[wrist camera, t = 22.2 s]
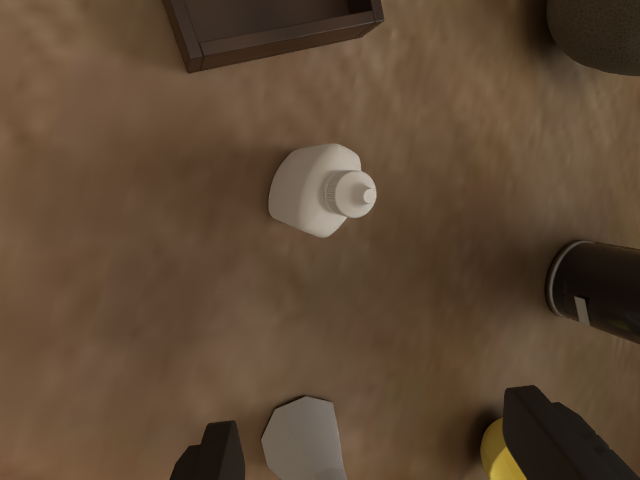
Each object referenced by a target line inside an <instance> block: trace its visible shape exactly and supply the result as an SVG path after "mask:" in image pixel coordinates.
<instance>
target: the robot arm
mask: <svg viewBox="0 0 640 480" xmlns="http://www.w3.org/2000/svg"><path fill="white" fill-rule="evenodd" d="M546 295H547V301H548V304H549V306H550V308H551V309H552V311H553V312H554V313H555V314H557V315H559V316H562V317H564V318H569V319H572V320H575V321H578V322H580V323H583V324H586V325H589V326H591V327H594V328H596V329H599V330H602V331H604V332H607V333H610V334H613V335H615V336H618V337H621V338H623V339H626V340H629V341H632V342H634V343H637V344H640V249H635V248H629V247H623V246H617V245H610V244H604V243H598V242H596V243H593V242H590V241H584V240H578V241H574V242H572V243H570V244H568V245H567V246H566V247H565V248H563V249H562V251H561V252H560V253H559V254H558V255H557V257H556V258H555V260H554V262H553V264H552V266H551V268H550V271H549V274H548V278H547V285H546ZM502 432H503V437H504V441H505V443H506V446H507V448H508V450H509V452H510V454H511V455H512V457H513V459H514V460H515V462H516V463H517V465H518V466H519V468H520V470H521V471H522V473H523V474H524V476H525V477H526V479H527V480H640V478H639V477H638V476H637V475H636V474H635V473H634V472H633V471H632V470H631V469H630V468H629V467H628V466H627V464H626V463H625V462H624V461H623V460H622V459H621V458H620V457H619V456H618V455H617V454H616V453H615V452H614V451H613V450H610V449H609V446H608V445H607V444H606V443H605V442H604V440H603V439H602V438H601V437H600V436H599V435H596V433H595V431H594V430H593V429H592V428H591V427H590V426H589V425H588V424H587V423H586V422H585V421H584V420H583V419H582V417H581V416H580V415H578V414H577V413H575V412H574V411H572V410H570V409H569V408H567V407H566V406H564V405H563V404H561V403H559V402H555V403H551V402H550V401H549V399H548V398H547V397H546V396H545V395H544V394H543V393H542V392H541V391H540V390H539V389H538V388H537V387H536V386H534V385H529V386H521V387H513V388H507V389H506V390H505V394H504V409H503V423H502ZM170 480H245V461H244V456H243V451H242V447H241V443H240V438H239V434H238V429H237V425H236V422H235V421H234V420H232V421H224V422H216V423H209V424H208V425H207V426H206V429H205V432H204V435H203V438H202V441H201V445H193V446H189V447H188V448H187V449H186V451H185V452H184V453H183V454H182V456H181V457H180V458H179V460H178V461H177V462H176V464H175V466H174V469H173V472H172V474H171V477H170Z"/></svg>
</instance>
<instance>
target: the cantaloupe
mask: <svg viewBox="0 0 640 480" xmlns="http://www.w3.org/2000/svg"><path fill="white" fill-rule="evenodd" d="M547 23H548V27H549V30H550V33H551V35H552V37H553V39H554V40H555V42H556V43H557V44H558V45H559V47H560V48H561V49H562V50H563V51H564V52H565V53H566V54H567V55H568V56H569V57H570V58H571V59H573V60H574V61H576V62H578V63H580V64H582V65H585V66H588V67H591V68H595V69H598V70H601V71H604V72H608V73H614V74H620V75H628V76H640V0H548V1H547Z"/></svg>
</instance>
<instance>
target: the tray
mask: <svg viewBox="0 0 640 480" xmlns="http://www.w3.org/2000/svg"><path fill="white" fill-rule="evenodd" d="M162 1H163V4H164V7H165V10H166V13H167V16H168V18H169V21H170V24H171V27H172V30H173V33H174V35H175V38H176V41H177V44H178V47H179V50H180V52H181V55H182V58H183V61H184V64H185V67H186V69H187V72H188V73H193V72H198V71H203V70H208V69H212V68H217V67H222V66H227V65H231V64H236V63H241V62H246V61H251V60H255V59H260V58H265V57H270V56H274V55H279V54H284V53H289V52H294V51H298V50H303V49H308V48H313V47H317V46H322V45H327V44H332V43H337V42H341V41H346V40H351V39H356V38H360V37H363V36H364V35H365V34H367V33H368V32H369V31H371V30H372V29H374V28H375V27H376V26H378V25H379V24H380V23H382V22H383V21H384V16H383V11H382V6H381V0H162Z"/></svg>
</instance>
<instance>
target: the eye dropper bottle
mask: <svg viewBox="0 0 640 480" xmlns="http://www.w3.org/2000/svg"><path fill="white" fill-rule="evenodd" d="M375 200H376V188H375V184H374V182H373V180H372V179H371V178H370V176H368V174H366V173H364V172H362V171H361V163H360V159H359V156H358V155H357V154H356V153H355V152H353V151H351V150H350V149H348V148H346V147H344V146H342V145H340V144H335V143H329V144H322V145H316V146H311V147H306V148H300V149H296V150H294V151H293V152H291V153H290V154H289V155H288V156H287V157H286V159H285V160H284V161H283V162H282V164H281V165H280V167H279V168H278V170H277V172H276V174H275V176H274V178H273V181H272V184H271V188H270V193H269V204H268V207H269V213H270V215H271V216H272V217H273V218H274V219H277V220H279V221H281V222H283V223H285V224H288V225H290V226H292V227H295V228H297V229H299V230H302V231H304V232H307V233H309V234H312V235H314V236H317V237H322V238H325V237H328V236H330V235H331V234H332V233H333V232H335V231H336V230H337V229H338V228H339V227H340V226H341V224H342V223H343V222H344V221H345V220H346V218H347V217H350V218H358V217H361V216H363V215H365V214H367V213H368V212H369V211H370V209H371V208H372V207H373V205H374V203H375Z"/></svg>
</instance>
